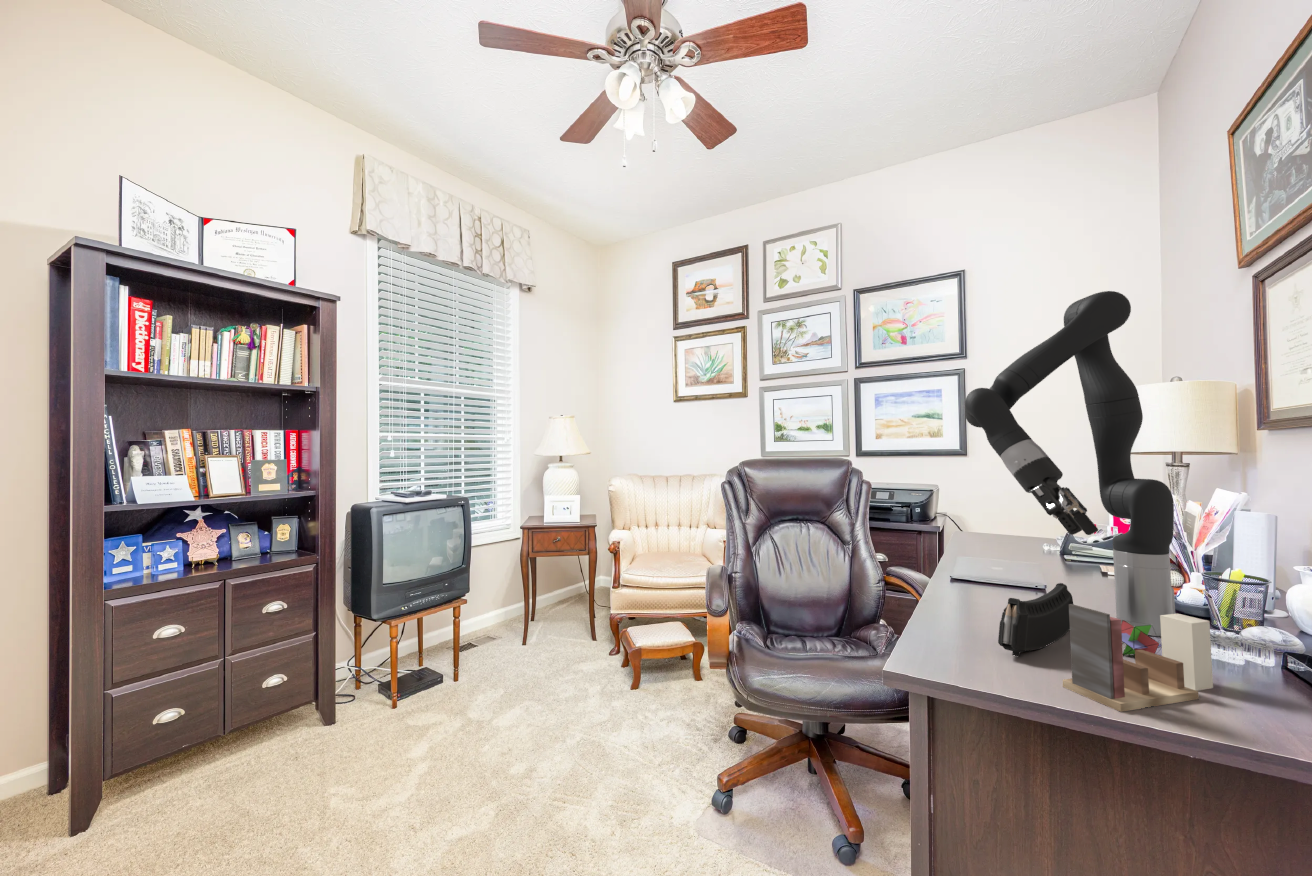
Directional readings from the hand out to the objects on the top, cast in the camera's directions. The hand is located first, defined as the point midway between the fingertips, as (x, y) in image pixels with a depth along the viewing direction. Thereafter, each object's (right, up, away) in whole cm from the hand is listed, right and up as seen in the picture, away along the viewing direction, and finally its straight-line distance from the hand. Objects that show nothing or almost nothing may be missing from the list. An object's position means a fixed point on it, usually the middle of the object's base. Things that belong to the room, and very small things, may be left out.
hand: (1085, 532), depth 103 cm
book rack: (-7, -23, -17) cm, 30 cm away
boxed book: (+6, -23, -14) cm, 28 cm away
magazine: (-5, -24, +6) cm, 25 cm away
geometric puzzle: (+8, -24, -2) cm, 25 cm away
